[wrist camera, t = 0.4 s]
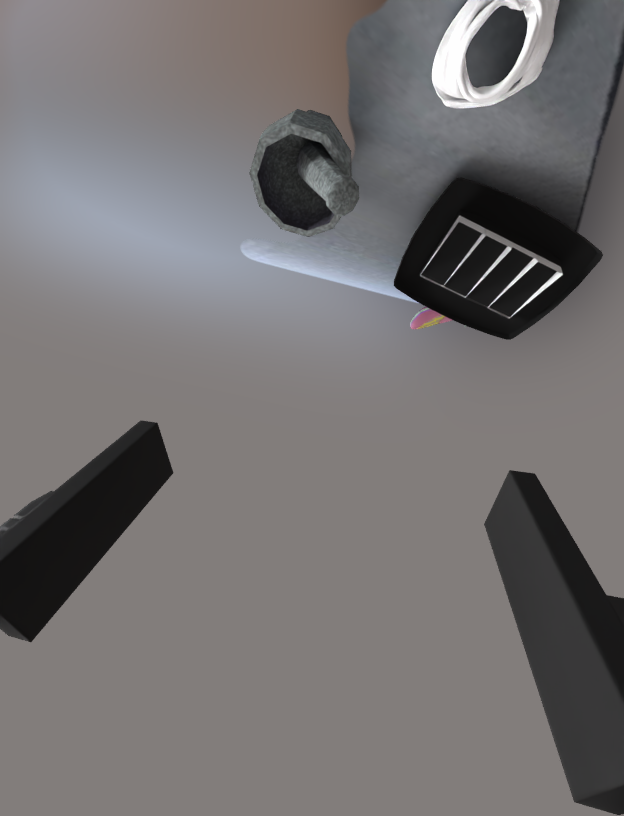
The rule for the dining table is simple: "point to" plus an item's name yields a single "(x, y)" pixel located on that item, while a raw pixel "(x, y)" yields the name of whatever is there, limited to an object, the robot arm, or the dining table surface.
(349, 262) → the dining table surface
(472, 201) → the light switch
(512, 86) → the white folded cloth ring
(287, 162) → the mortar and pestle
